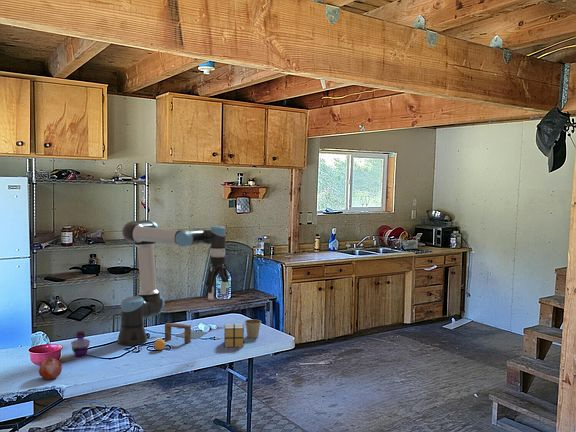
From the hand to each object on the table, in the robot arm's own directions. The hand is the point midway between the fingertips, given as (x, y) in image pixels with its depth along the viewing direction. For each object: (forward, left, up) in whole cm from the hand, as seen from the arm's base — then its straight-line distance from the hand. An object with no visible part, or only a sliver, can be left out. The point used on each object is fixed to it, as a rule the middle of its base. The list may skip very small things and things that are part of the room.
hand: (217, 296), depth 265 cm
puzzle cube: (+6, +8, -27) cm, 29 cm away
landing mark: (-24, +14, -27) cm, 38 cm away
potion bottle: (-54, -39, -27) cm, 72 cm away
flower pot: (+9, +25, -27) cm, 38 cm away
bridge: (-24, 0, -27) cm, 36 cm away
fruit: (-44, -67, -27) cm, 85 cm away
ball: (-24, -16, -24) cm, 38 cm away
